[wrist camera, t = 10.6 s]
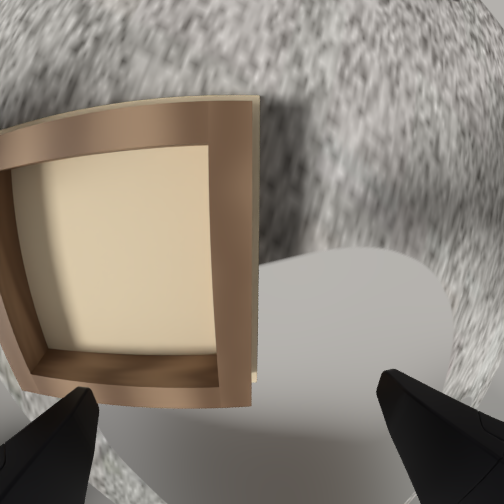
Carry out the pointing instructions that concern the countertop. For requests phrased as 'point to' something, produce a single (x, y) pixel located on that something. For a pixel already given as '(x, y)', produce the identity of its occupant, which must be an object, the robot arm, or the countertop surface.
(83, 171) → the cork mat
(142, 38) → the countertop surface
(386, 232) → the countertop surface
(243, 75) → the countertop surface
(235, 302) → the walnut frame
